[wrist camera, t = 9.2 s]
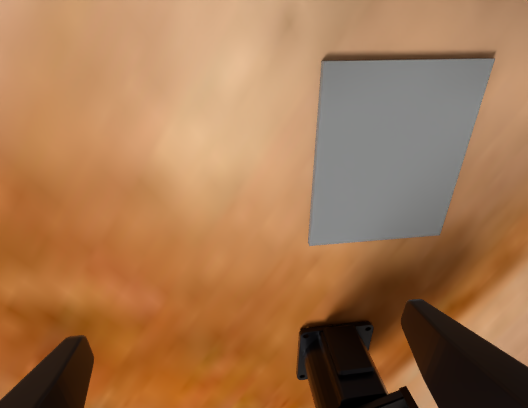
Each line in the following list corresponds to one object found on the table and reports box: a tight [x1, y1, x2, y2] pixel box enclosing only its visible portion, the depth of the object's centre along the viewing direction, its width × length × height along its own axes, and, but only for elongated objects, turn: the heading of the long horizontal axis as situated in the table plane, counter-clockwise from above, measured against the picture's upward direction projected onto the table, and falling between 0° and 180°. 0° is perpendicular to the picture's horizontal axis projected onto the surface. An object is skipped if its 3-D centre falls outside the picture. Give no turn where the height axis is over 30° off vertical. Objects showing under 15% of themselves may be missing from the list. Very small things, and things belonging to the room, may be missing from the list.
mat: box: [308, 58, 495, 246], centre depth 20 cm, size 12×10×1 cm
